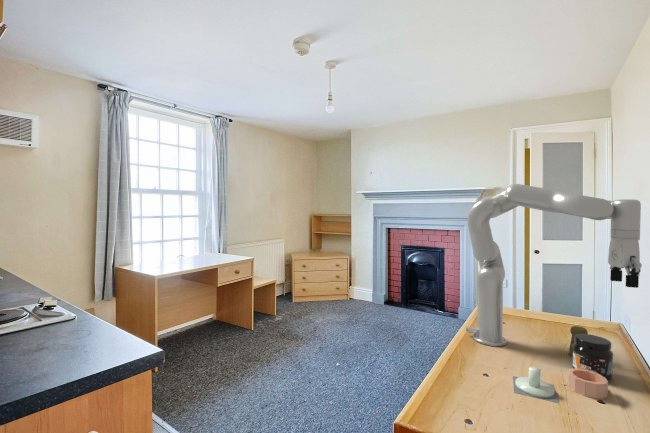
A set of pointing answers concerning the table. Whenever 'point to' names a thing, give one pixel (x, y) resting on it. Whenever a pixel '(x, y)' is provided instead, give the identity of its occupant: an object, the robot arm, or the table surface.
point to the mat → (516, 390)
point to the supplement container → (593, 355)
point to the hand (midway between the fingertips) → (623, 284)
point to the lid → (534, 385)
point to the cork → (574, 331)
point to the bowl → (587, 383)
